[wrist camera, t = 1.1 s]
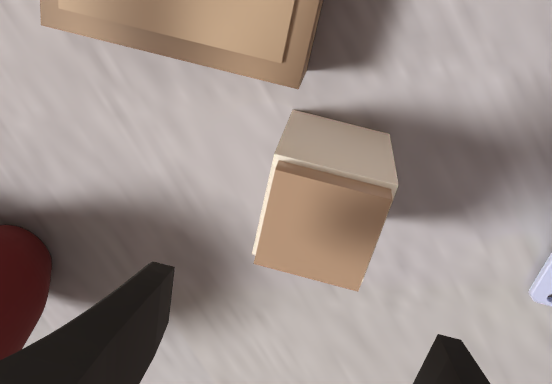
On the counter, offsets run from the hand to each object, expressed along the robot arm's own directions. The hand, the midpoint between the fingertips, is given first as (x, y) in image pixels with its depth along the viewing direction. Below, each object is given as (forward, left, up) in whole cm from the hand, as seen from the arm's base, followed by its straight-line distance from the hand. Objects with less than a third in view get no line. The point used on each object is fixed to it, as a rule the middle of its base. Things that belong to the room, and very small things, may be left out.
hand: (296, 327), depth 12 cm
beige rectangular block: (0, 0, -11) cm, 11 cm away
